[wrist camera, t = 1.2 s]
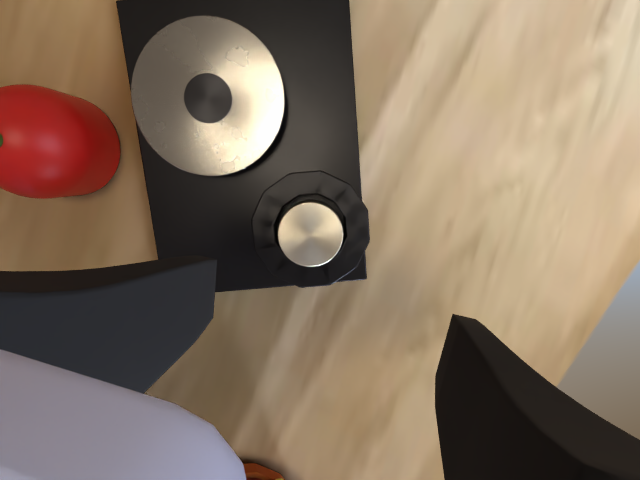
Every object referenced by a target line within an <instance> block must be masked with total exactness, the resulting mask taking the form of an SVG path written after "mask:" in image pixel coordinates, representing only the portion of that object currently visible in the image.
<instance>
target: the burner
mask: <svg viewBox="0 0 640 480" xmlns="http://www.w3.org/2000/svg"><path fill="white" fill-rule="evenodd" d="M131 99H132V107H133V111H134V115H135V118H136V121H137V124H138V126H139V128H140V130H141V132H142V134H143V136H144V137H145V139H146V140H147V142H148V143H149V145H150V146H151V147H152V148H153V149H154V150H155V152H157V153H158V154H159V155H160V156H161V157H162V158H163V159H165V160H166V161H167V162H169V163H170V164H172V165H174V166H175V167H177V168H179V169H181V170H184V171H186V172H189V173H193V174H197V175H203V176H222V175H228V174H232V173H235V172H238V171H241V170H243V169H245V168H247V167H249V166H250V165H252V164H254V163H255V162H256V161H257V160H259V159H260V158H261V157H262V156H263V155H264V154H265V153H266V152H267V151H268V150H269V148H270V147H271V145H272V144H273V142H274V141H275V139H276V137H277V135H278V133H279V130H280V128H281V125H282V121H283V117H284V111H285V91H284V85H283V80H282V77H281V73H280V71H279V68H278V66H277V64H276V61H275V60H274V58H273V56H272V55H271V53H270V51H269V50H268V49H267V47H266V46H265V45H264V44H263V43H262V41H261V40H260V39H259V38H258V37H257V36H255V35H254V34H253V33H252V32H250V31H249V30H248V29H246V28H244V27H243V26H241V25H239V24H238V23H235V22H233V21H230V20H228V19H224V18H220V17H215V16H193V17H187V18H184V19H180V20H177V21H175V22H173V23H171V24H169V25H167V26H166V27H164V28H163V29H161V30H160V31H159V32H158V33H156V34H155V35H154V36H153V37H152V38H151V39H150V41H149V42H148V43H147V44H146V45H145V47H144V49H143V50H142V52H141V53H140V55H139V58H138V60H137V62H136V65H135V68H134V72H133V76H132V83H131Z"/></svg>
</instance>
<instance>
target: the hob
mask: <svg viewBox="0 0 640 480" xmlns="http://www.w3.org/2000/svg"><path fill="white" fill-rule="evenodd" d="M116 3H117V9H118V16H119V22H120V28H121V34H122V40H123V46H124V52H125V58H126V64H127V71H128V77H129V83H130V89H131V83H132V76H133V72H134V68H135V65H136V62H137V60H138V58H139V55H140V53H141V52H142V50H143V49H144V47H145V45H146V44H147V43H148V42H149V41H150V39H151V38H152V37H153V36H154V35H155V34H156V33H158V32H159V31H160V30H161V29H163V28H164V27H166V26H167V25H169V24H171V23H173V22H175V21H177V20H180V19H184V18H187V17H193V16H215V17H220V18H224V19H228V20H230V21H233V22H235V23H238V24H239V25H241V26H243V27H244V28H246V29H248V30H249V31H250V32H252V33H253V34H254V35H255V36H257V37H258V38H259V39H260V40H261V41H262V43H263V44H264V45H265V46H266V47H267V49H268V50H269V51H270V53H271V55H272V56H273V58H274V60H275V61H276V64H277V66H278V68H279V71H280V73H281V77H282V80H283V85H284V91H285V111H284V117H283V121H282V125H281V128H280V130H279V133H278V135H277V137H276V139H275V141H274V142H273V144H272V145H271V147H270V148H269V150H268V151H267V152H266V153H265V154H264V155H263V156H262V157H261V158H260V159H259V160H257V161H256V162H255V163H254V164H252V165H250V166H249V167H247V168H245V169H243V170H241V171H238V172H235V173H232V174H228V175H222V176H203V175H197V174H193V173H189V172H186V171H184V170H181V169H179V168H177V167H175V166H174V165H172V164H170V163H169V162H167V161H166V160H165V159H163V158H162V157H161V156H160V155H159V154H158V153H157V152H155V150H154V149H153V148H152V147H151V146H150V145H149V143H148V142H147V140H146V139H145V137H144V136H143V134H142V132H141V130H140V128H139V126H138V124H137V121H136V126H137V132H138V138H139V144H140V150H141V156H142V162H143V168H144V174H145V180H146V187H147V193H148V199H149V205H150V211H151V217H152V223H153V229H154V235H155V242H156V248H157V254H158V260H160V259H166V258H173V257H180V256H191V255H200V256H204V257H208V258H213V259H217V268H216V283H215V292H224V291H236V290H247V289H259V288H271V287H283V286H294V285H295V286H298V287H301V288H304V287H315V286H327V285H331V284H333V283H335V282H342V281H353V280H365V279H367V273H366V258H365V250H366V248H367V246H368V244H369V240H370V235H369V219H368V210H367V208H366V206H365V205H364V203H363V202H362V195H361V179H360V164H359V148H358V132H357V116H356V101H355V85H354V69H353V54H352V38H351V22H350V7H349V0H118V1H116ZM135 119H136V118H135ZM303 200H318V201H321V202H324V203H326V204H327V205H329V206H330V207H331V208H332V209H333V210H334V211H335V212H336V214H337V215H338V217H339V219H340V221H341V224H342V227H343V241H342V245H341V247H340V250H339V251H338V253H337V254H336V255H335V256H334V257H333V258H332V259H331V260H330V261H328V262H327V263H325V264H323V265H319V266H314V267H307V266H302V265H299V264H296V263H294V262H293V261H291V260H290V259H289V258H288V257H287V256H286V255H285V254H284V253H283V251H282V249H281V247H280V245H279V241H278V227H279V224H280V221H281V219H282V217H283V216H284V214H285V213H286V212H287V210H288V209H289V208H290V207H291V206H293V205H294V204H296V203H298V202H300V201H303Z"/></svg>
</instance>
